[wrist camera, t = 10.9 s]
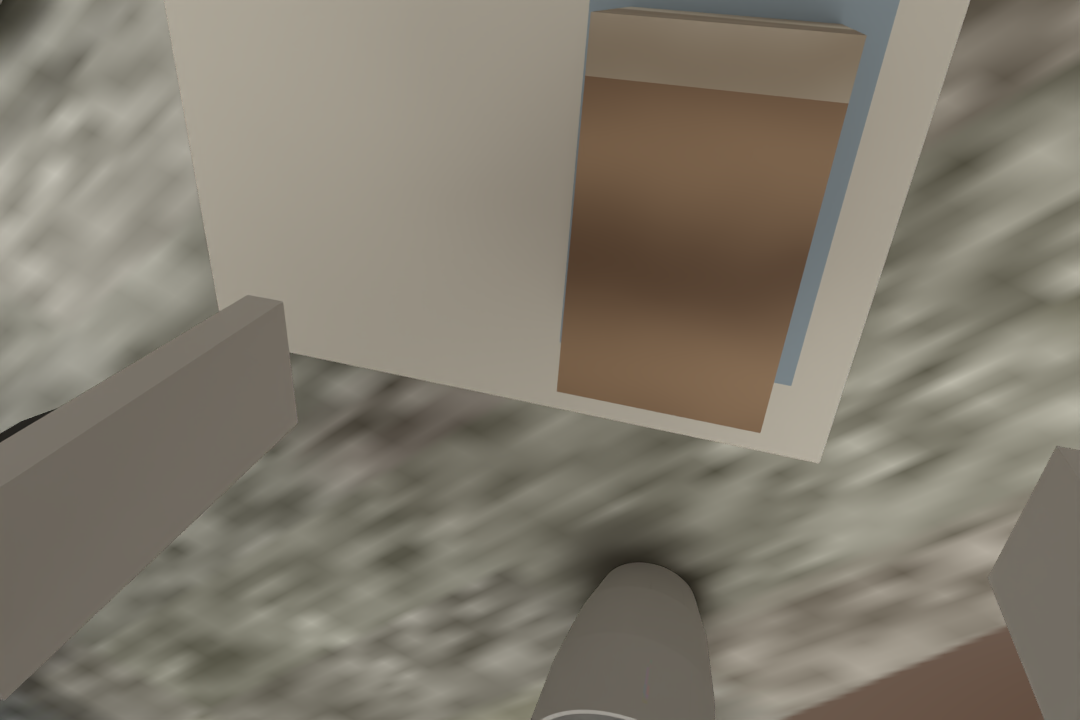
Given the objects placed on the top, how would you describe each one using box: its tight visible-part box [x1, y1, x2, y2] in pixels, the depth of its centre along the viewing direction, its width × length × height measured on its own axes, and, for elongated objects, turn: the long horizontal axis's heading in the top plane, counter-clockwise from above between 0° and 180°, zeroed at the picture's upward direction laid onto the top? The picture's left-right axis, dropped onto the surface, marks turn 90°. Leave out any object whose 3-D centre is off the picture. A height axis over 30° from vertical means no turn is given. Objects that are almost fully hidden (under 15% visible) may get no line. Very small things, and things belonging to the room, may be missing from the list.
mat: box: [164, 0, 970, 463], centre depth 28 cm, size 30×22×1 cm
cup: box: [531, 562, 715, 720], centre depth 33 cm, size 8×8×10 cm
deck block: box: [557, 7, 867, 433], centre depth 24 cm, size 12×7×6 cm, turn 177°
